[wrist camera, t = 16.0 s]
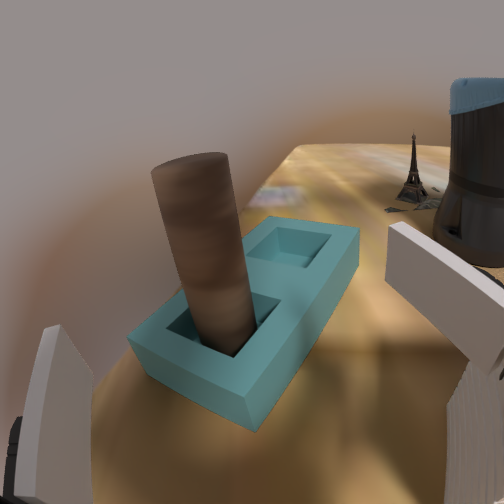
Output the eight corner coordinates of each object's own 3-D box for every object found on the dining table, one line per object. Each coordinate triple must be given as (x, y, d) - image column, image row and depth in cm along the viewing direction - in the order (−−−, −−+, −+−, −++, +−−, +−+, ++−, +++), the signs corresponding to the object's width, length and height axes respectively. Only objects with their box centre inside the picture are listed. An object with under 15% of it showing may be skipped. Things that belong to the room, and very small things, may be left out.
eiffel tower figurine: (385, 216, 49) (386, 135, 42) (367, 195, 58) (364, 125, 51) (458, 209, 48) (463, 135, 41) (433, 189, 56) (435, 125, 50)
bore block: (273, 249, 44) (269, 216, 41) (358, 264, 38) (359, 227, 35) (147, 374, 27) (126, 336, 25) (255, 432, 21) (244, 397, 18)
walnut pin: (225, 319, 30) (187, 153, 23) (270, 334, 28) (242, 151, 20) (192, 353, 27) (135, 175, 19) (238, 373, 24) (190, 175, 17)
